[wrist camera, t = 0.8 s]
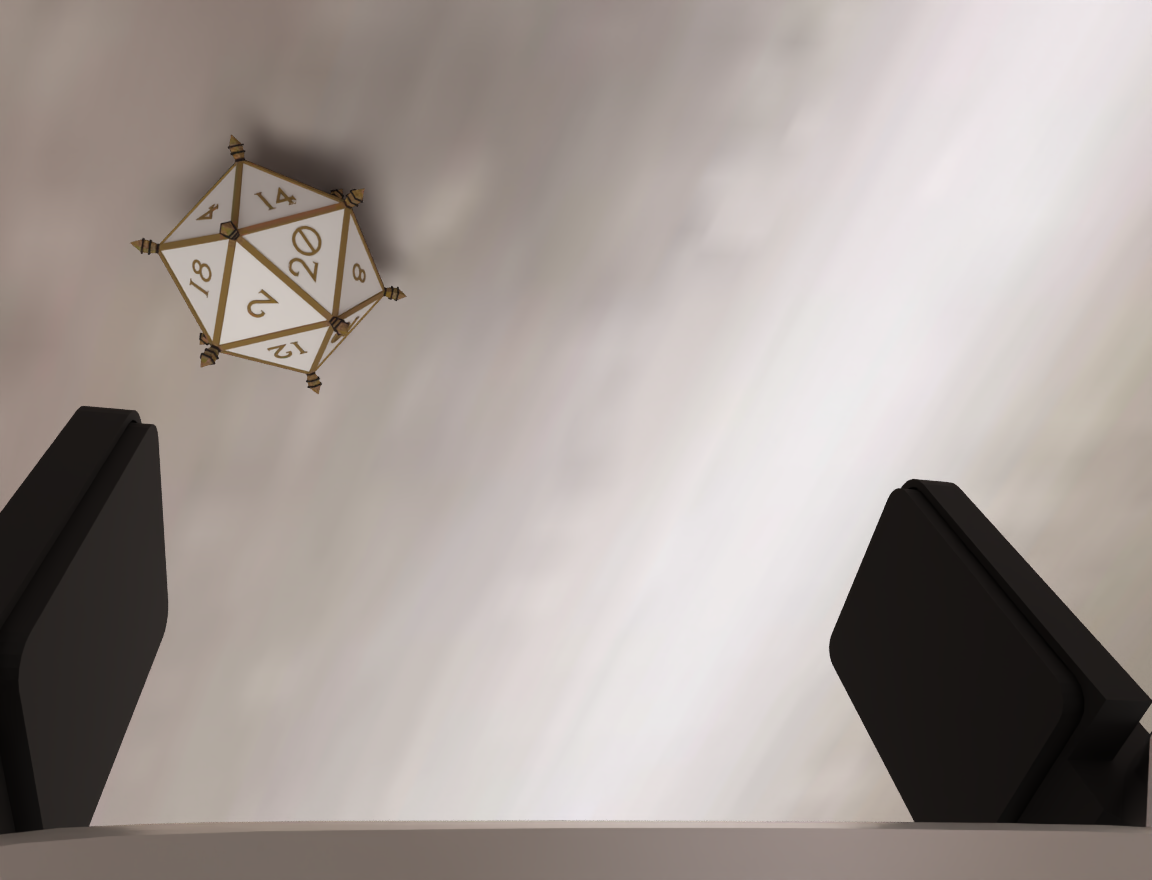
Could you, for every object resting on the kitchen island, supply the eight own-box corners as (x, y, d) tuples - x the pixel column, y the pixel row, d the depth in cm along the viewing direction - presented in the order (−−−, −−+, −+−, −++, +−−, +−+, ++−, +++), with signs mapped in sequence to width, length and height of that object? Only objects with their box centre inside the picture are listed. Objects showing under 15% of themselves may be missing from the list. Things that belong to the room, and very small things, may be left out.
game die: (272, 177, 39) (164, 55, 29) (448, 249, 39) (399, 150, 29) (185, 362, 38) (43, 301, 28) (364, 437, 38) (283, 402, 28)
